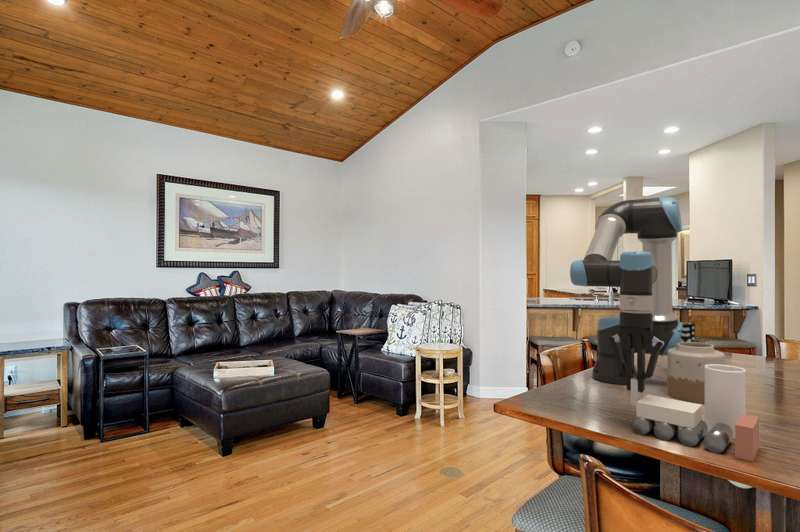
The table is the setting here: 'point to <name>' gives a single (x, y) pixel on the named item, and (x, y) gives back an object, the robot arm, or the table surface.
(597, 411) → the table surface
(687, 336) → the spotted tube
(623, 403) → the table surface
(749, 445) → the block
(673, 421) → the board
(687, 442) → the rollers
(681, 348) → the vase
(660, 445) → the table surface
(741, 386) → the cup
